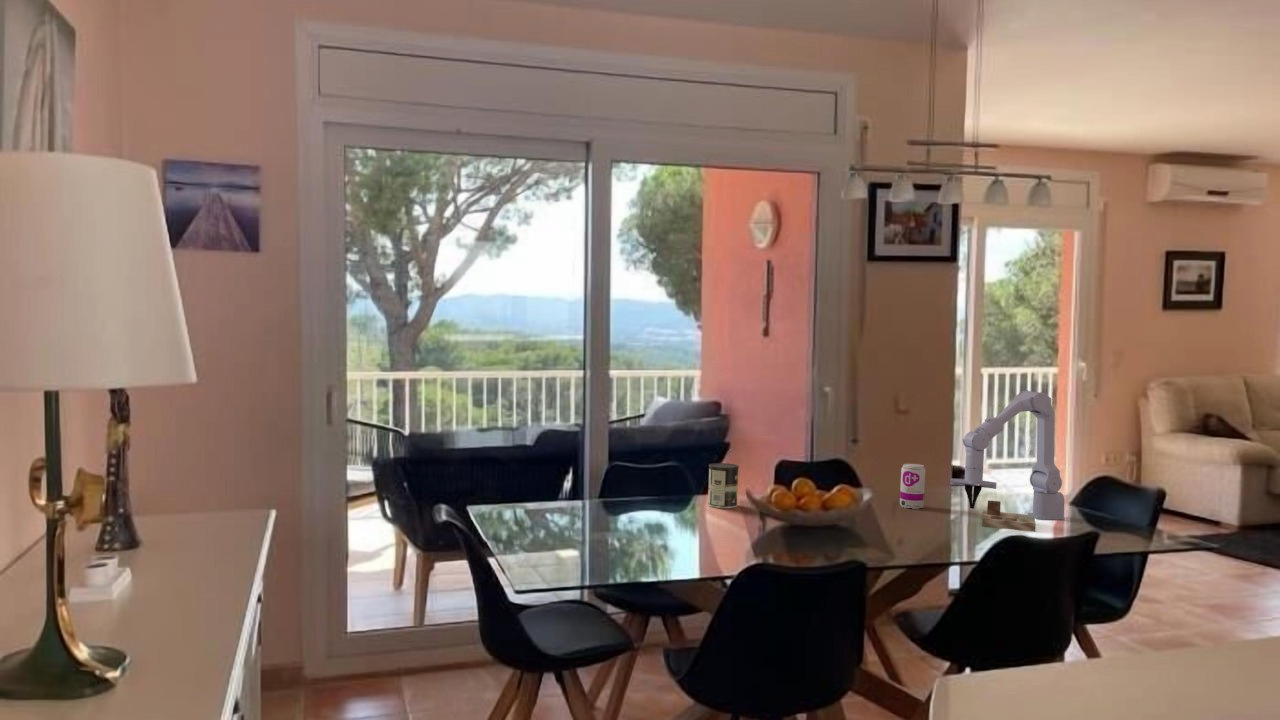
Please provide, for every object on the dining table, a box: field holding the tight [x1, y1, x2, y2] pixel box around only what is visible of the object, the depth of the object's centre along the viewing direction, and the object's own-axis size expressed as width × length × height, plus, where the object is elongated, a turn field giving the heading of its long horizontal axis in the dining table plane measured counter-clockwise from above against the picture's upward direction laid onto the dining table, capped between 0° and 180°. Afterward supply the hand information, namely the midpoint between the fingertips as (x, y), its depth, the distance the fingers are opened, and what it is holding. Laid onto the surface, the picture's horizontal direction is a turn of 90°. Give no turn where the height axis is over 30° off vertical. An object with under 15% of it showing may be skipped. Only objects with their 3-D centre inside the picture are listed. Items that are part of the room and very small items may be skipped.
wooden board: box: [981, 510, 1036, 532], centre depth 314 cm, size 16×14×2 cm
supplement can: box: [899, 463, 927, 510], centre depth 337 cm, size 8×8×15 cm
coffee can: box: [707, 462, 739, 510], centre depth 329 cm, size 10×10×14 cm
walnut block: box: [986, 500, 1001, 516], centre depth 318 cm, size 4×4×4 cm
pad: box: [1017, 513, 1036, 521], centre depth 315 cm, size 5×8×2 cm, turn 159°
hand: (972, 507), depth 321 cm, fingers closed
